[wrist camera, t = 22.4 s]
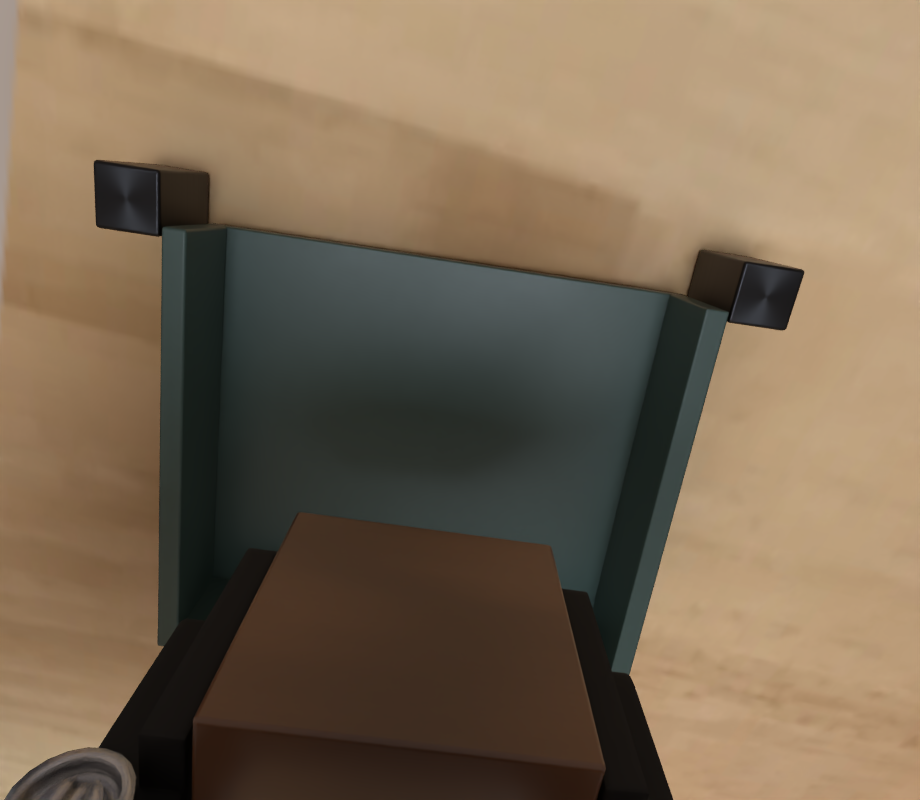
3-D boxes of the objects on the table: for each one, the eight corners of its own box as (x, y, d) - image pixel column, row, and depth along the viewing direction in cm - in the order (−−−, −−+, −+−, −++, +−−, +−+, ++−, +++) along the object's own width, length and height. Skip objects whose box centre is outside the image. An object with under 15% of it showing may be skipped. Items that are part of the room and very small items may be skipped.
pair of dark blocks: (153, 163, 18) (92, 159, 15) (750, 257, 19) (806, 270, 16) (153, 220, 18) (94, 227, 15) (735, 308, 19) (786, 331, 16)
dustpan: (155, 785, 20) (201, 696, 23) (586, 831, 21) (567, 737, 24) (160, 225, 15) (218, 222, 18) (730, 311, 16) (678, 292, 19)
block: (282, 710, 12) (187, 990, 8) (297, 509, 11) (189, 720, 6) (508, 738, 12) (532, 1024, 8) (552, 543, 11) (609, 768, 7)
